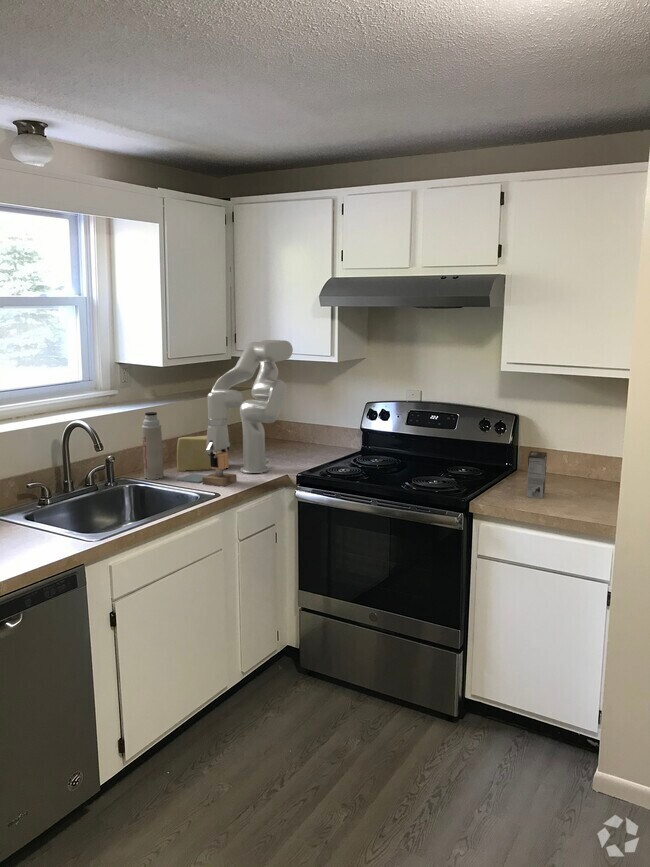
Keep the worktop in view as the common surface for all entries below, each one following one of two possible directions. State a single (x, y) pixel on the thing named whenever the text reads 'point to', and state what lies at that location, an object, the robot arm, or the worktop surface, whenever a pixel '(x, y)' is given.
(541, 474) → the coffee box
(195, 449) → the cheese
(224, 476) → the post stand
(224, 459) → the cap
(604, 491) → the worktop surface
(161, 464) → the thermos bottle
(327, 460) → the worktop surface
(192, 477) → the mat
